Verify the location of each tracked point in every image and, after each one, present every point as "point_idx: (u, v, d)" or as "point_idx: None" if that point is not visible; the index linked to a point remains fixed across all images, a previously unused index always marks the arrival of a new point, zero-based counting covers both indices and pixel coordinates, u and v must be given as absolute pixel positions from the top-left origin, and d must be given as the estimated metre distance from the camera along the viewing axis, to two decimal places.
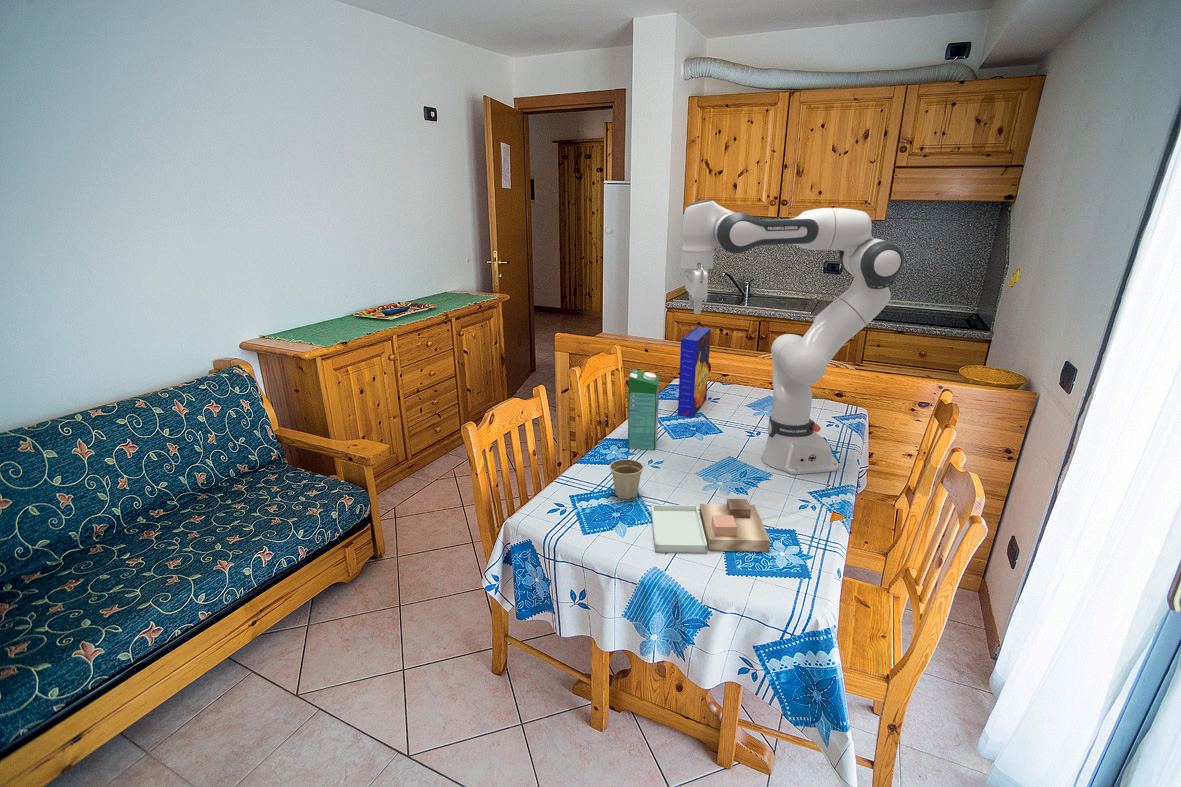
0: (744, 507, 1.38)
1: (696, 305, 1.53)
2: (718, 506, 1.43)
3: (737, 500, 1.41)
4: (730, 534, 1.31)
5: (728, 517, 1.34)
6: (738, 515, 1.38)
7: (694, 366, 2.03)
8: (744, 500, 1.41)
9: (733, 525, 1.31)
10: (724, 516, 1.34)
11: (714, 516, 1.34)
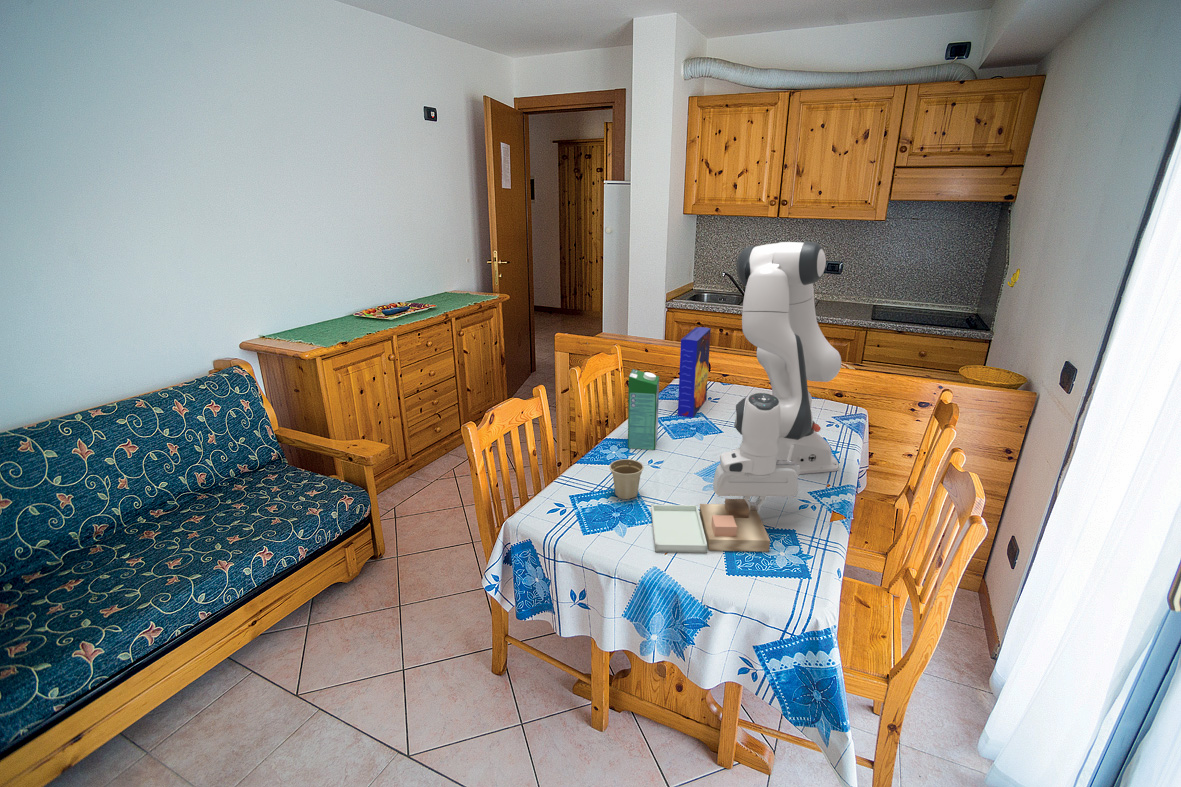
0: (743, 507, 1.38)
1: None
2: (718, 506, 1.43)
3: (735, 500, 1.41)
4: (730, 534, 1.31)
5: (728, 517, 1.34)
6: (736, 515, 1.38)
7: (694, 366, 2.03)
8: (742, 500, 1.41)
9: (733, 525, 1.31)
10: (724, 516, 1.34)
11: (714, 516, 1.34)
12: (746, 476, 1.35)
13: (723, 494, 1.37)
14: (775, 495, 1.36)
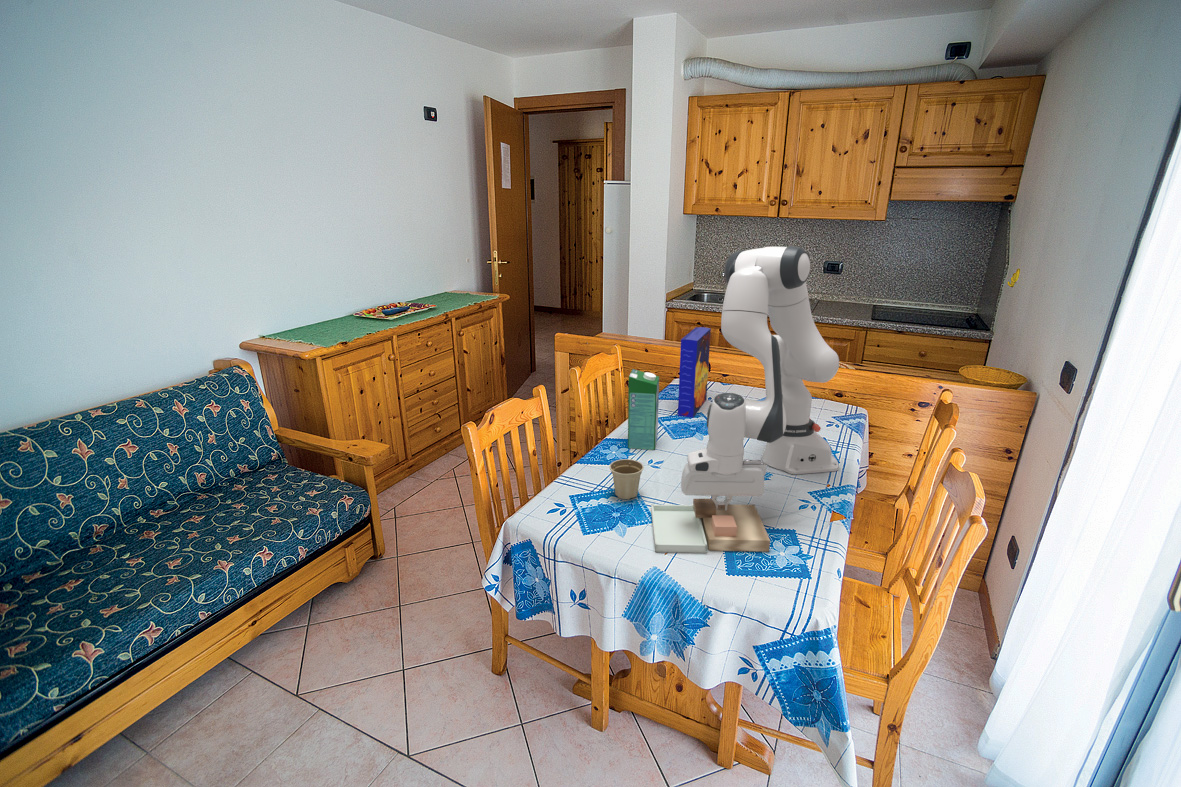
0: (710, 506, 1.38)
1: None
2: None
3: (703, 500, 1.42)
4: (730, 534, 1.31)
5: (728, 517, 1.34)
6: (704, 515, 1.38)
7: (694, 366, 2.03)
8: (710, 499, 1.42)
9: (733, 525, 1.31)
10: (724, 516, 1.34)
11: (714, 516, 1.34)
12: (713, 475, 1.35)
13: (690, 493, 1.37)
14: (742, 494, 1.37)
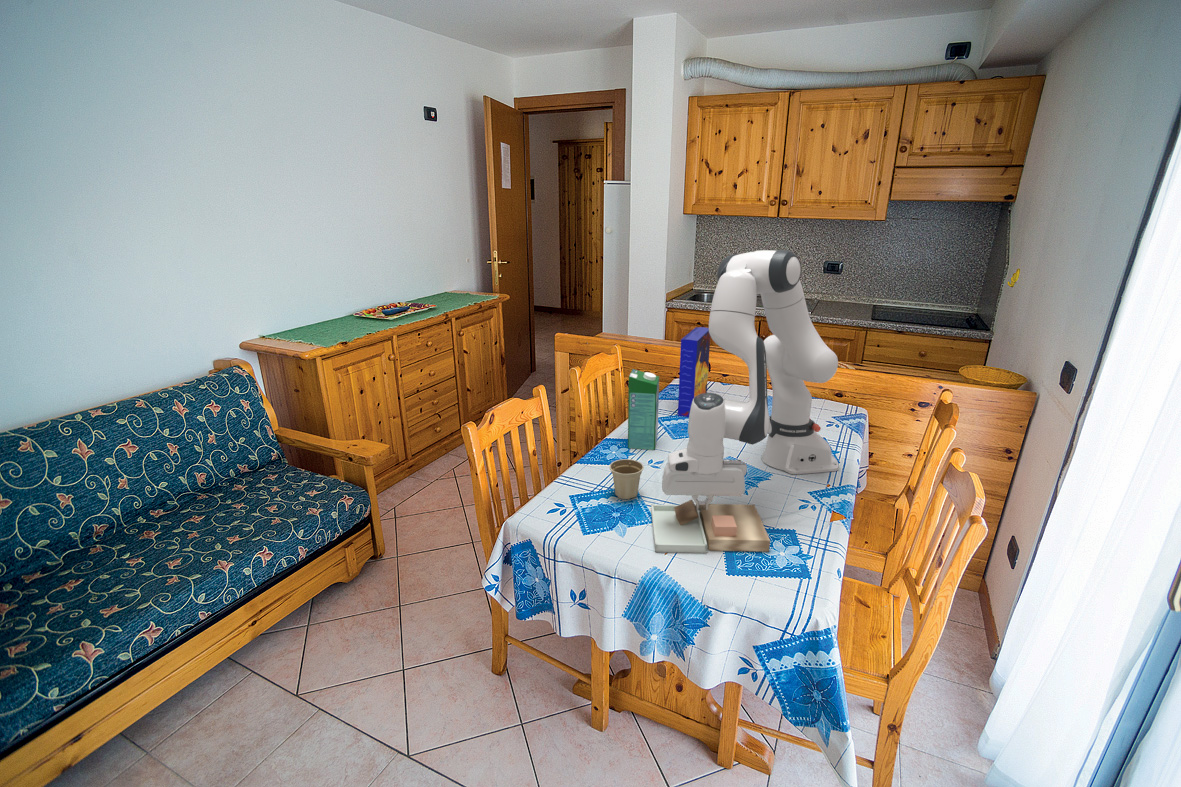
0: (689, 509, 1.39)
1: None
2: (718, 506, 1.43)
3: (683, 504, 1.42)
4: (730, 534, 1.31)
5: (728, 517, 1.34)
6: (686, 520, 1.39)
7: (694, 366, 2.03)
8: (689, 502, 1.42)
9: (733, 525, 1.31)
10: (724, 516, 1.34)
11: (714, 516, 1.34)
12: (693, 475, 1.36)
13: (671, 493, 1.37)
14: (722, 494, 1.37)
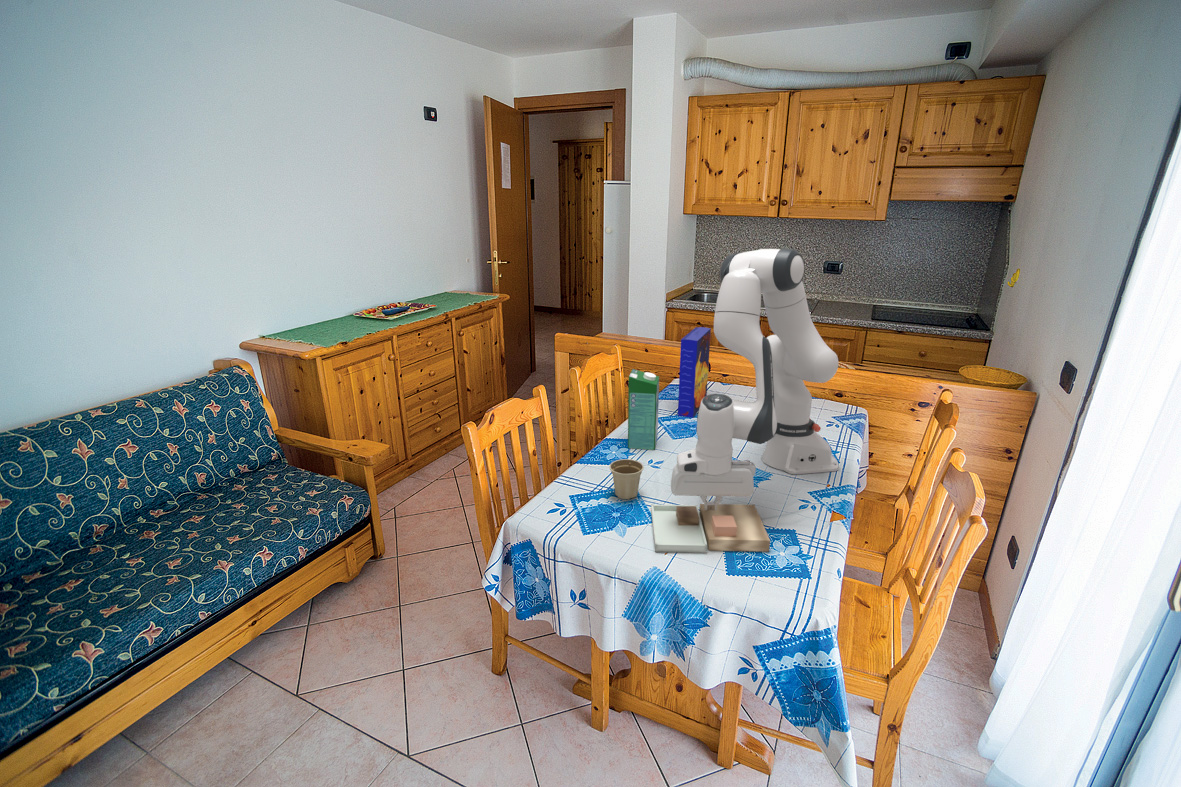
0: (693, 514, 1.40)
1: None
2: (718, 506, 1.43)
3: (686, 507, 1.43)
4: (730, 534, 1.31)
5: (728, 517, 1.34)
6: (686, 523, 1.39)
7: (694, 366, 2.03)
8: (693, 507, 1.43)
9: (733, 525, 1.31)
10: (724, 516, 1.34)
11: (714, 516, 1.34)
12: (702, 476, 1.36)
13: (679, 494, 1.38)
14: (731, 495, 1.37)
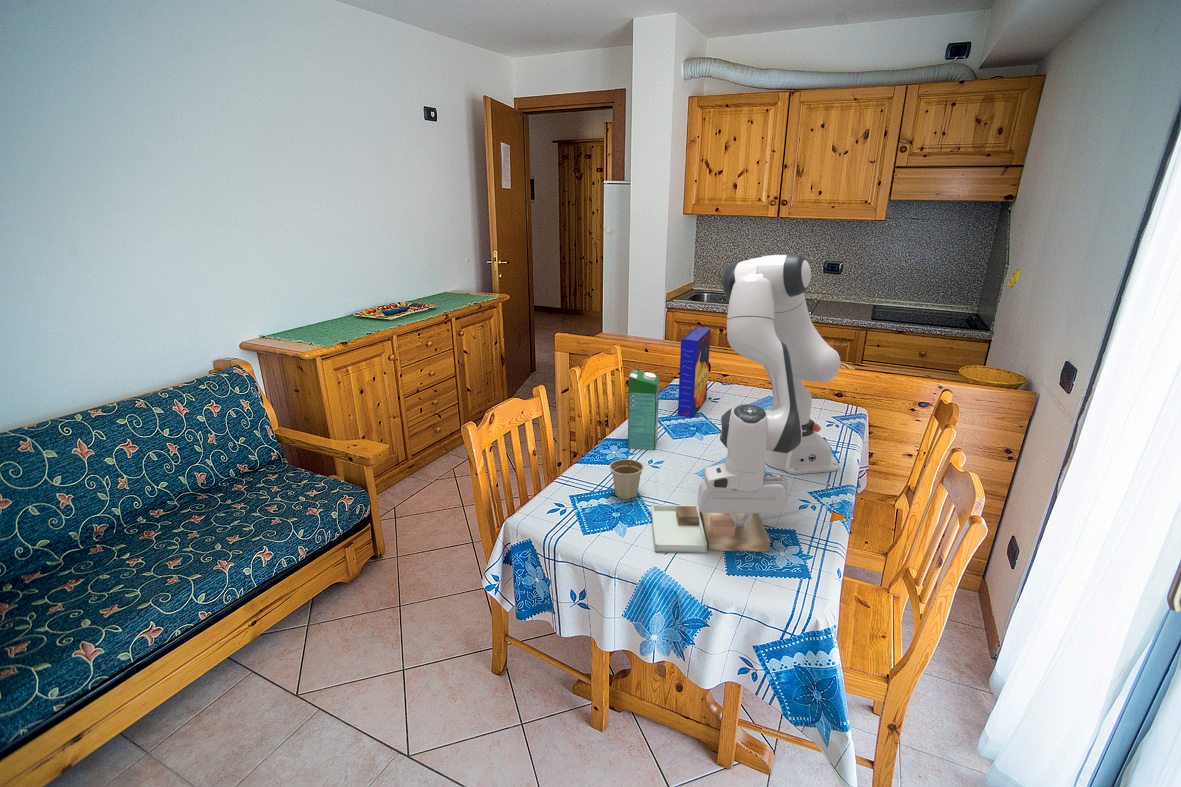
0: (693, 514, 1.40)
1: None
2: None
3: (686, 507, 1.43)
4: (728, 534, 1.31)
5: (726, 517, 1.34)
6: (686, 523, 1.39)
7: (694, 366, 2.03)
8: (693, 507, 1.43)
9: (731, 525, 1.31)
10: (722, 516, 1.34)
11: (712, 516, 1.34)
12: (732, 492, 1.28)
13: (708, 511, 1.29)
14: (762, 512, 1.29)
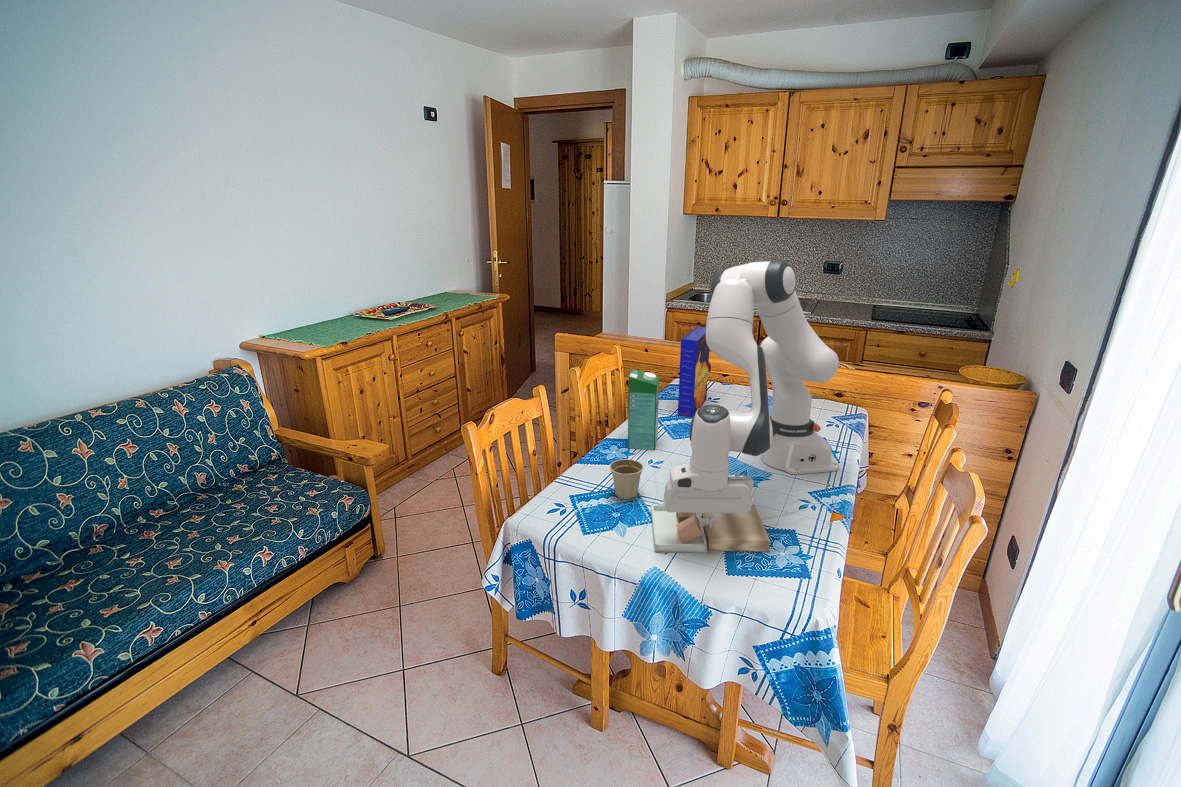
0: (693, 514, 1.40)
1: None
2: None
3: None
4: (695, 535, 1.31)
5: (690, 519, 1.35)
6: None
7: (694, 366, 2.03)
8: None
9: (693, 526, 1.31)
10: (686, 520, 1.35)
11: (678, 524, 1.36)
12: (696, 492, 1.28)
13: (673, 510, 1.30)
14: (727, 512, 1.29)
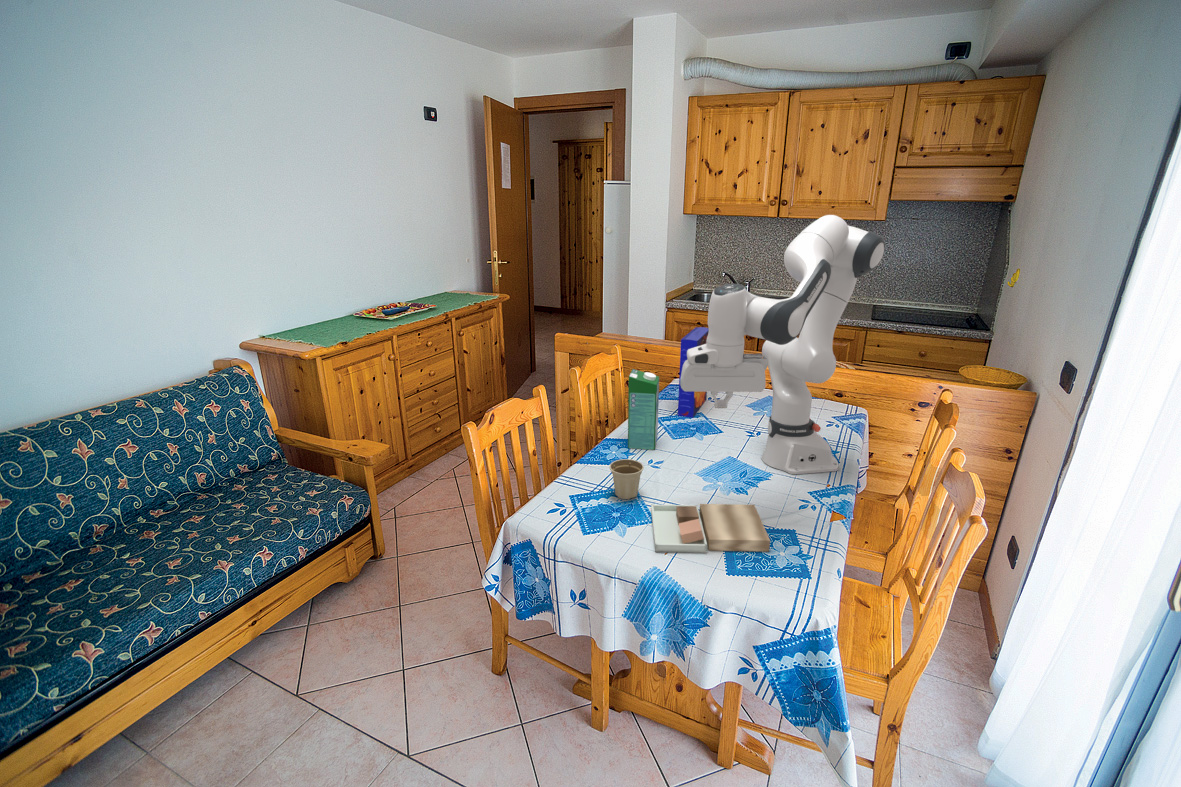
0: (693, 514, 1.40)
1: None
2: (718, 506, 1.43)
3: (686, 507, 1.43)
4: (697, 538, 1.32)
5: (694, 521, 1.35)
6: None
7: None
8: (693, 507, 1.43)
9: (697, 529, 1.32)
10: (690, 521, 1.35)
11: (680, 524, 1.36)
12: (712, 369, 1.33)
13: (689, 389, 1.35)
14: (742, 390, 1.34)
